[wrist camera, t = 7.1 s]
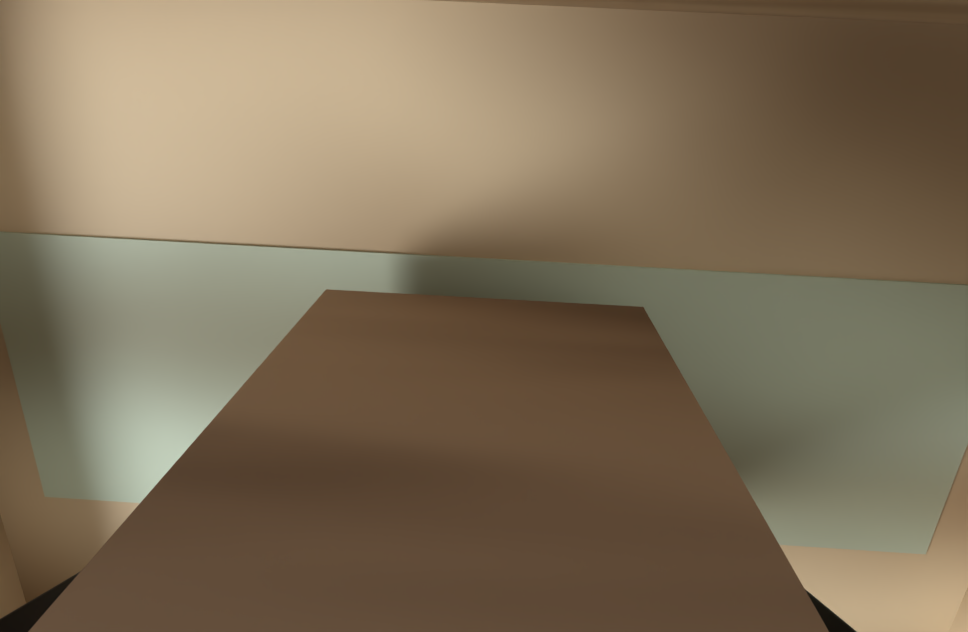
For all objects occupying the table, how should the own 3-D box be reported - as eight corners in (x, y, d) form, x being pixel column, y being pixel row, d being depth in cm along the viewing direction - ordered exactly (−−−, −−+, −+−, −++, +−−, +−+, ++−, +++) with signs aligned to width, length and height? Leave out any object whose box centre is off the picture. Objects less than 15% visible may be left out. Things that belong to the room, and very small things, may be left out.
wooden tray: (938, 705, 13) (1051, 873, 10) (19, 640, 14) (-107, 785, 11) (1267, -42, 8) (1655, -102, 5) (-208, -104, 9) (-548, -189, 6)
